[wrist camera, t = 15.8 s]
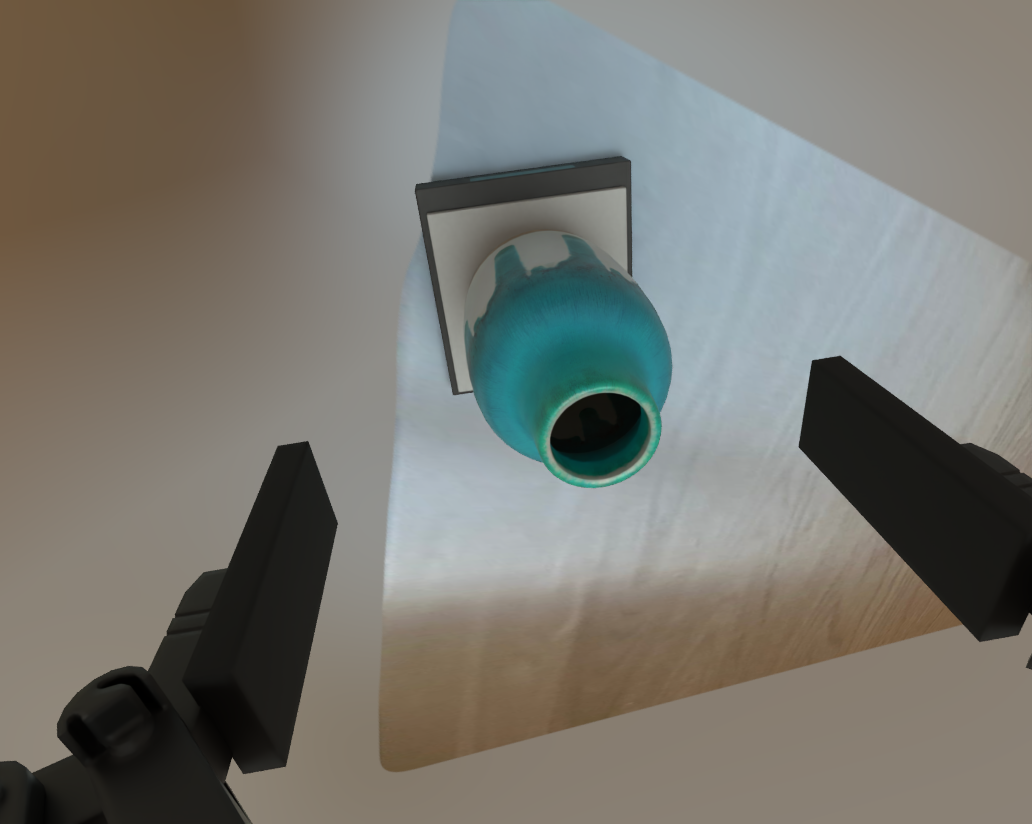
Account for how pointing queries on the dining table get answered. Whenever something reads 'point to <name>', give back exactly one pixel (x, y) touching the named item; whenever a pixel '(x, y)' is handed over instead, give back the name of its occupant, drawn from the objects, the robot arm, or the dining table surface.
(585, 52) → the dining table surface
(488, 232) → the scale
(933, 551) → the robot arm
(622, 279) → the vase
